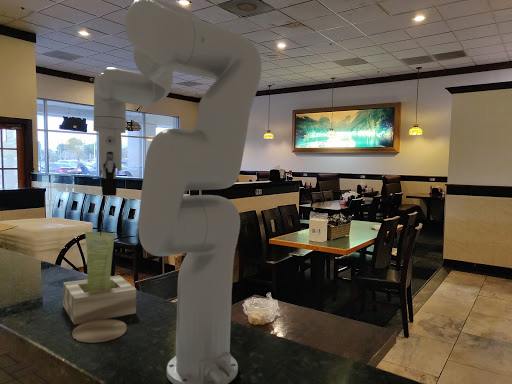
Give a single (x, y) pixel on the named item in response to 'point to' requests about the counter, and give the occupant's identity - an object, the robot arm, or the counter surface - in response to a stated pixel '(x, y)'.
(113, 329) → the disc
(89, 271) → the tube
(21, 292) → the counter surface
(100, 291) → the socket block
